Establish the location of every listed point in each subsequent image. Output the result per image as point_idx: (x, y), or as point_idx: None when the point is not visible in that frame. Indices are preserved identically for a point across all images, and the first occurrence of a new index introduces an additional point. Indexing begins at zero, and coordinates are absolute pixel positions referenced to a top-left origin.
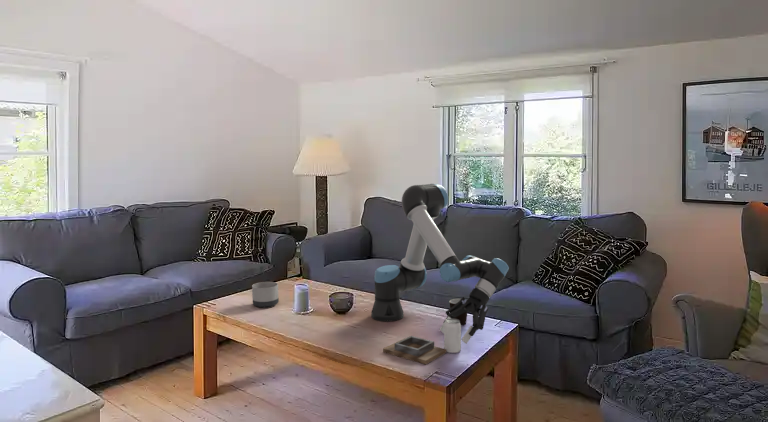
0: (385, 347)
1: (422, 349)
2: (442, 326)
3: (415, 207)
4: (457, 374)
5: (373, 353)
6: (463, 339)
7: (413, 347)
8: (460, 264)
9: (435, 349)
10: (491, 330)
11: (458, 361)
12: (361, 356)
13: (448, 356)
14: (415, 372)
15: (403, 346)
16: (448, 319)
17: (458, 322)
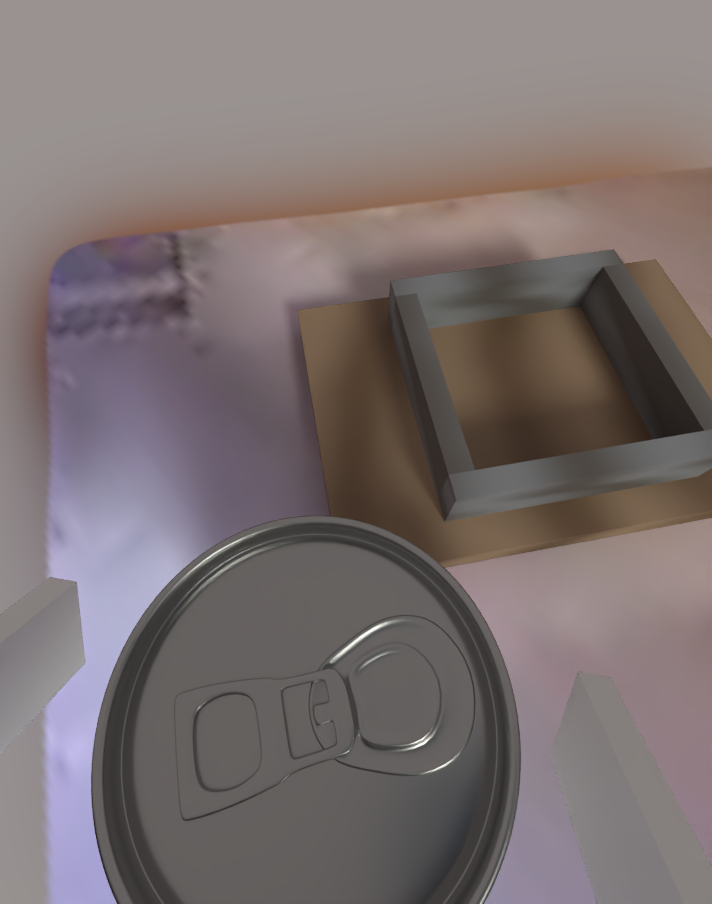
0: (666, 276)
1: (404, 340)
2: (615, 736)
3: None
4: (47, 361)
5: (650, 240)
6: (38, 591)
7: (558, 402)
8: None
9: (405, 500)
10: None
11: (148, 522)
12: (639, 187)
13: None
14: (270, 238)
15: (527, 263)
16: (504, 759)
17: (95, 736)
